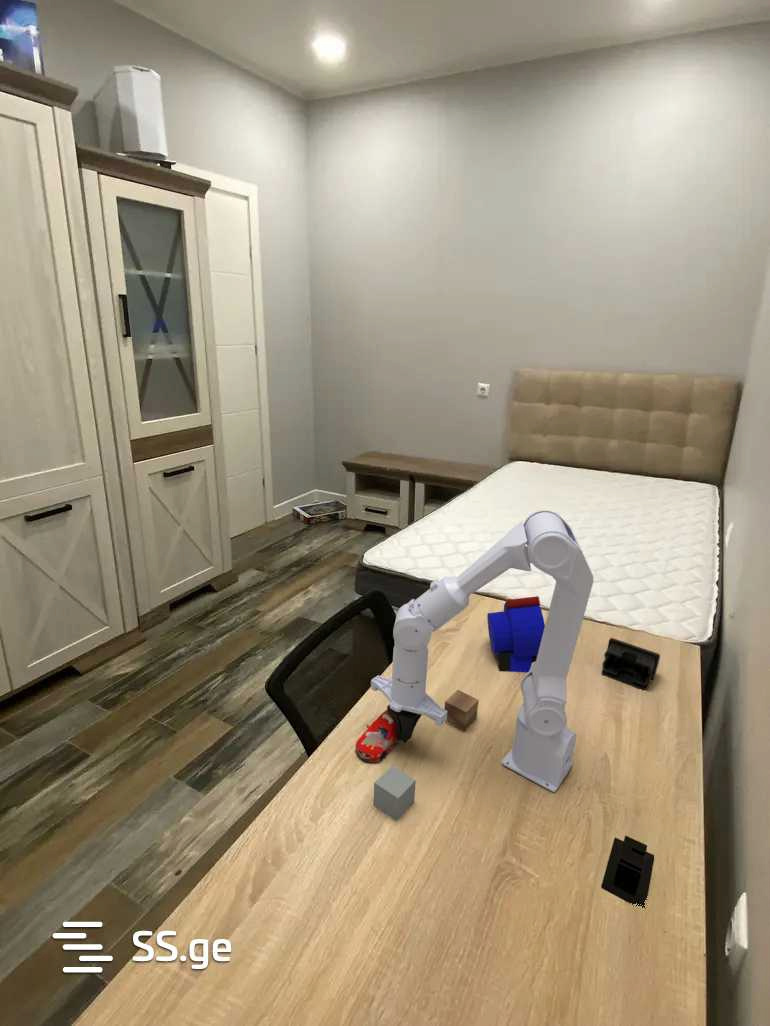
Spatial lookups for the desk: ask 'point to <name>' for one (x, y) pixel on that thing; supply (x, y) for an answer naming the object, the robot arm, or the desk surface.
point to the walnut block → (461, 710)
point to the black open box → (629, 871)
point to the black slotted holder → (630, 664)
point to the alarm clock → (516, 633)
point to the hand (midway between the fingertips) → (405, 738)
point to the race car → (377, 739)
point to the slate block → (394, 792)
